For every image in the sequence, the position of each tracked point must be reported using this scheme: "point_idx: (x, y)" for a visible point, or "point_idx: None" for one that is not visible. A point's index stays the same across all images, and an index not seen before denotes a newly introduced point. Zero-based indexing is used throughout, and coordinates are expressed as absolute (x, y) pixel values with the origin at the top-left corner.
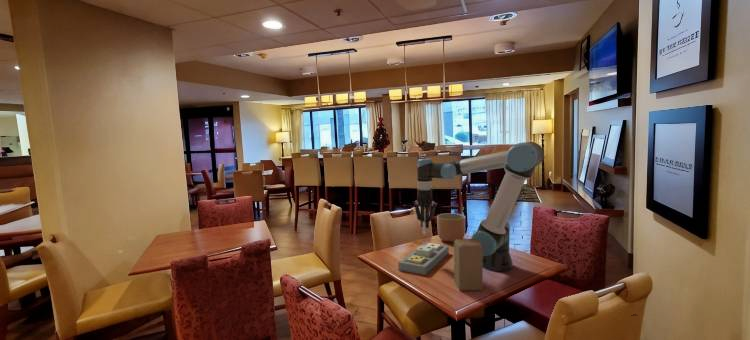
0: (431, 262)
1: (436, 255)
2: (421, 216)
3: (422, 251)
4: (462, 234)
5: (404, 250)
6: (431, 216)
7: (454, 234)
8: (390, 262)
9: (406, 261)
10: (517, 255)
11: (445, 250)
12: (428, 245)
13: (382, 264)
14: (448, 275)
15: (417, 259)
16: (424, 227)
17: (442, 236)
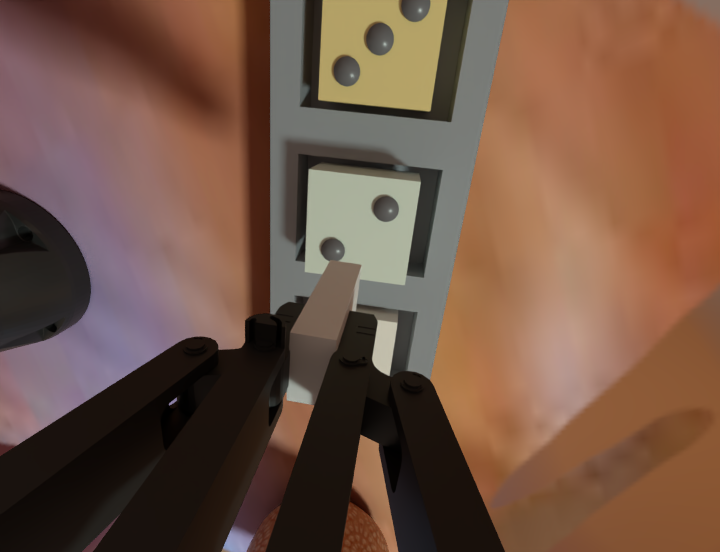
0: (273, 72)
1: (280, 210)
2: (342, 409)
3: (364, 174)
4: (250, 543)
5: (541, 344)
6: (112, 389)
7: None
8: (601, 97)
9: (465, 34)
10: (10, 409)
11: None
12: (374, 347)
13: (662, 27)
14: (158, 12)
15: (363, 7)
16: (323, 296)
17: (351, 519)
